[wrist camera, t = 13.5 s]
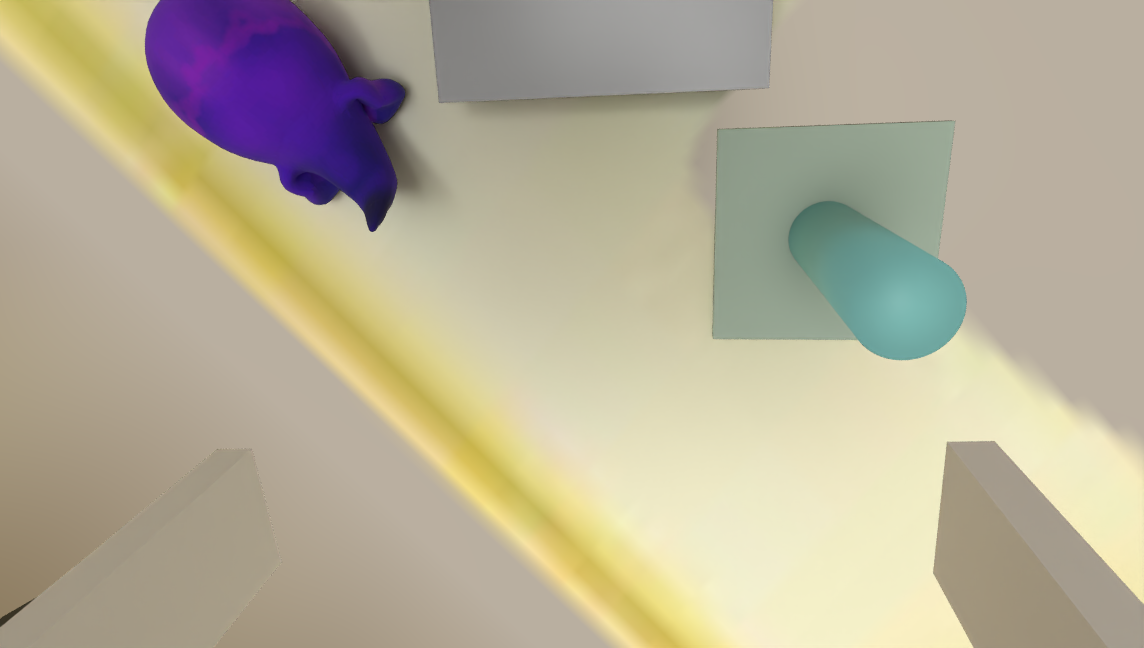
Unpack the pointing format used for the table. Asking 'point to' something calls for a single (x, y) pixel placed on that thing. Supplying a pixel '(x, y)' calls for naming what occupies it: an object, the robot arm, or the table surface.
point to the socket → (598, 47)
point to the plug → (878, 281)
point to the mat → (798, 180)
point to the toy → (275, 96)
